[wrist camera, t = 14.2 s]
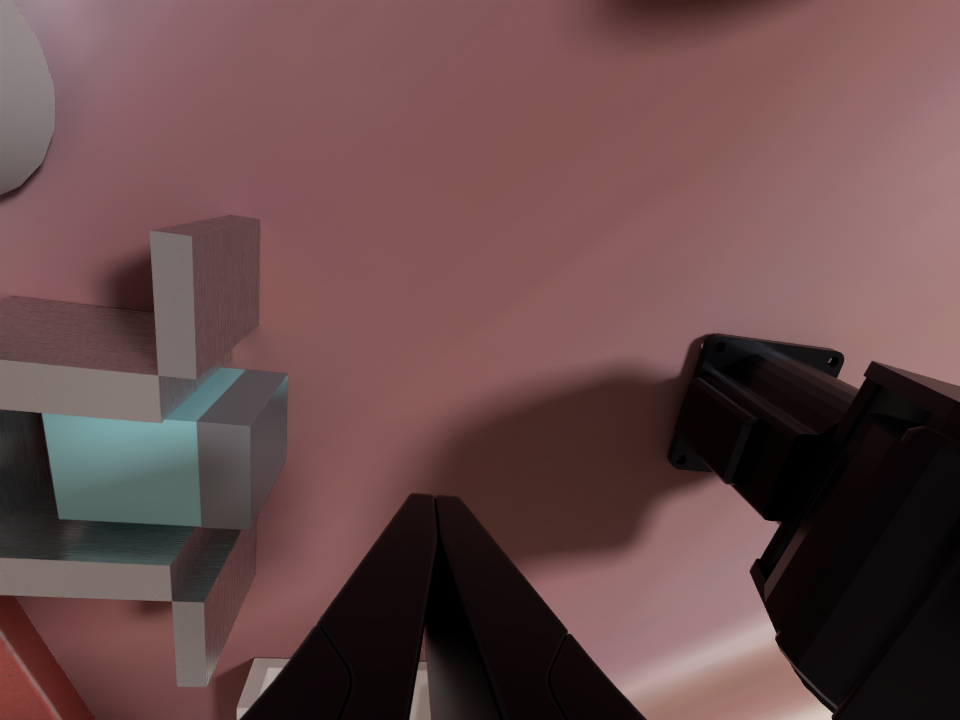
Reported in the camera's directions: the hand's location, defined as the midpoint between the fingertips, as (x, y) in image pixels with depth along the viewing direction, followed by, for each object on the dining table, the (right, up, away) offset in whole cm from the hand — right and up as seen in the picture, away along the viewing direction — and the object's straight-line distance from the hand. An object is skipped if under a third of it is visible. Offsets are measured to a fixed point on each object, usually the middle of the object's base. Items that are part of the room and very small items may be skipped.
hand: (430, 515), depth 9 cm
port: (-12, +1, +11) cm, 17 cm away
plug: (-10, +1, +12) cm, 15 cm away
